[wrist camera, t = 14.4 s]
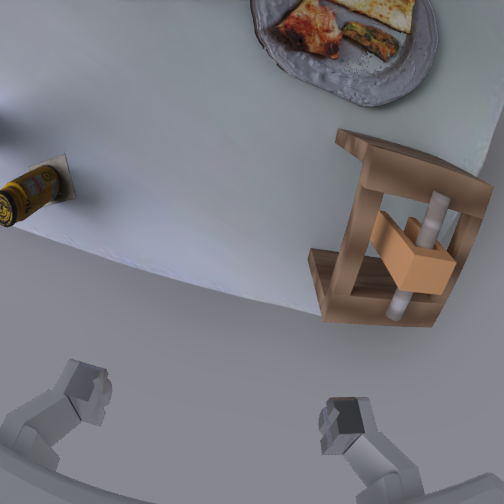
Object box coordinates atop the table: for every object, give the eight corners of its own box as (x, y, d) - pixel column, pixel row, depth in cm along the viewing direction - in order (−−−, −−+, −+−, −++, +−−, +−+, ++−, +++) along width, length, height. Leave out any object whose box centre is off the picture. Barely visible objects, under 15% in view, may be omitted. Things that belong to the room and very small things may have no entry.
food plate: (226, 57, 33) (224, 53, 30) (284, -73, 22) (287, -85, 19) (398, 128, 37) (410, 132, 34) (442, 4, 26) (455, 0, 23)
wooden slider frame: (337, 128, 37) (383, 151, 23) (436, 156, 38) (504, 193, 24) (307, 259, 47) (325, 333, 33) (397, 271, 47) (437, 337, 33)
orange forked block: (378, 210, 35) (414, 254, 25) (415, 218, 35) (456, 262, 26) (369, 239, 37) (399, 290, 27) (405, 245, 37) (441, 294, 28)
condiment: (29, 167, 39) (-19, 192, 29) (65, 154, 39) (16, 177, 28) (40, 206, 43) (-2, 239, 32) (76, 197, 42) (33, 231, 32)
